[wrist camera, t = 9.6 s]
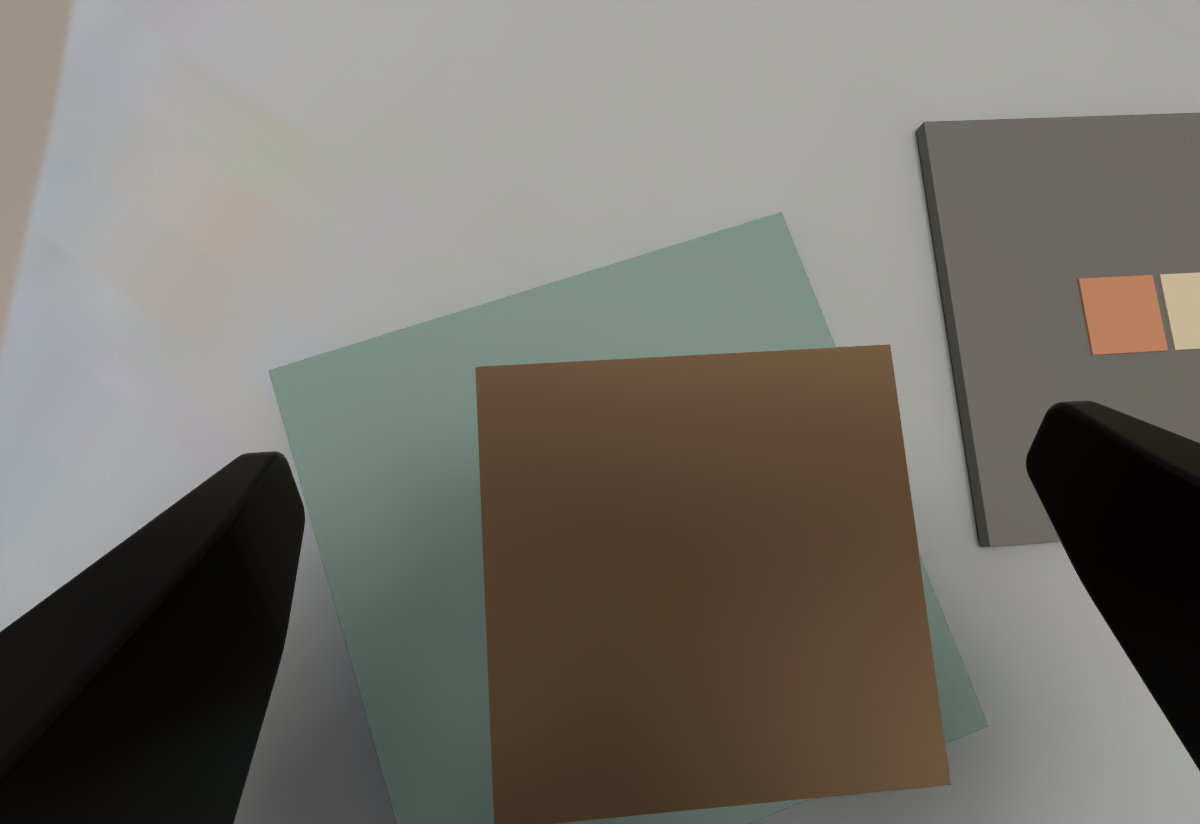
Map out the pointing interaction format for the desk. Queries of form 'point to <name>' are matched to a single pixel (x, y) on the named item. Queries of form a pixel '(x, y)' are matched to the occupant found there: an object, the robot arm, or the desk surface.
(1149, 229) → the tile
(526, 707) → the walnut block
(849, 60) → the desk surface
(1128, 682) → the desk surface
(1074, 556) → the robot arm
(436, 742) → the teal pad
